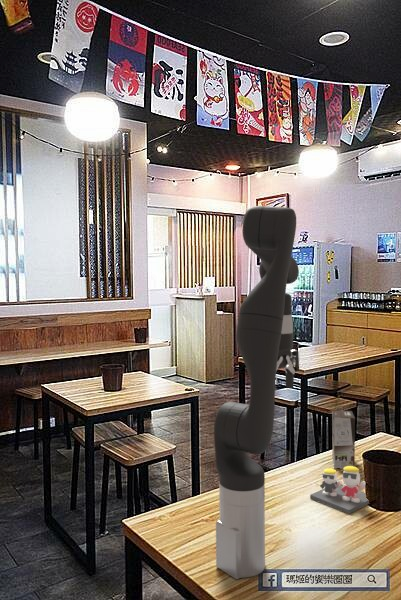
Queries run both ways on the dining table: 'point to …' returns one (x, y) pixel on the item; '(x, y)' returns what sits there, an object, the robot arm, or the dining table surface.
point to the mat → (340, 500)
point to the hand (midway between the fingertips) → (279, 389)
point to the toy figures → (350, 480)
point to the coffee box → (343, 438)
